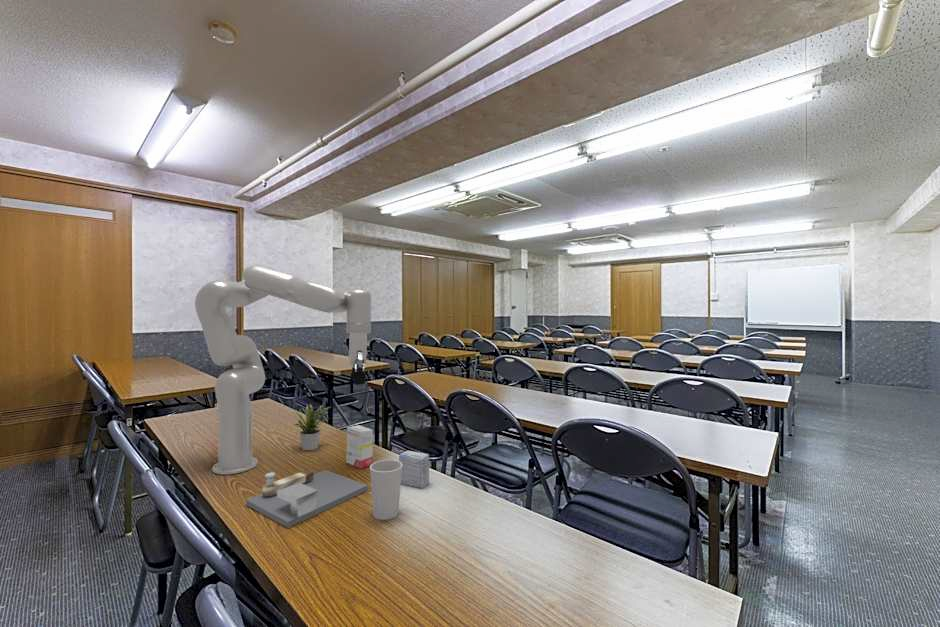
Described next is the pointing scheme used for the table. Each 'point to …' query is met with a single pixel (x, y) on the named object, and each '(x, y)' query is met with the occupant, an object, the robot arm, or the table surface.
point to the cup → (385, 488)
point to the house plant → (310, 428)
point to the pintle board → (329, 495)
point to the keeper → (299, 498)
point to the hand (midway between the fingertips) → (358, 381)
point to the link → (288, 482)
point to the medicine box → (414, 468)
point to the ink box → (359, 446)
